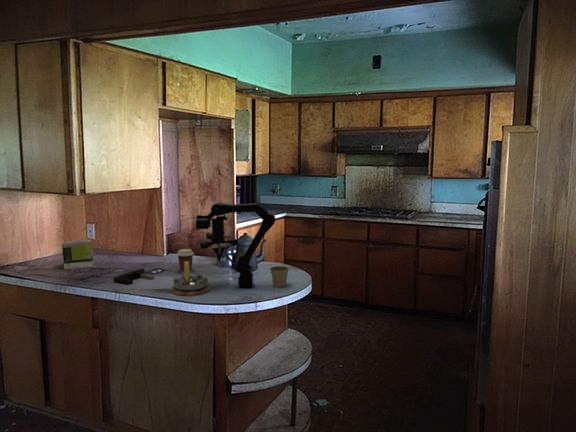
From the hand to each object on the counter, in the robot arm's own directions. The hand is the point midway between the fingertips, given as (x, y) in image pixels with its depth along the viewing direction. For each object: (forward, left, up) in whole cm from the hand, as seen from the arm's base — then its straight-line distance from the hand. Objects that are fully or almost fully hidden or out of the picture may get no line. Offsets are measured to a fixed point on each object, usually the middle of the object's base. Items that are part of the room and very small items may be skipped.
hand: (218, 260), depth 227 cm
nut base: (+12, +7, -13) cm, 19 cm away
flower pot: (-29, -5, -13) cm, 32 cm away
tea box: (+91, -30, -13) cm, 97 cm away
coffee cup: (+26, -26, -13) cm, 39 cm away
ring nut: (+12, +7, -11) cm, 18 cm away
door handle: (+46, -9, -14) cm, 49 cm away
